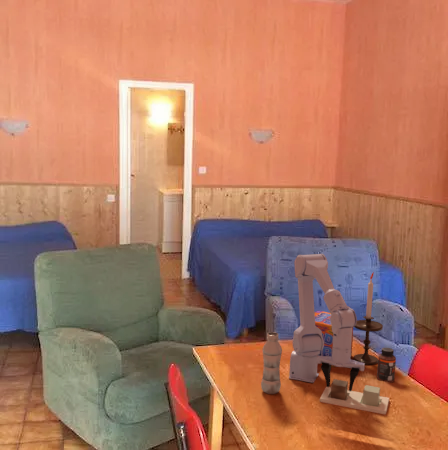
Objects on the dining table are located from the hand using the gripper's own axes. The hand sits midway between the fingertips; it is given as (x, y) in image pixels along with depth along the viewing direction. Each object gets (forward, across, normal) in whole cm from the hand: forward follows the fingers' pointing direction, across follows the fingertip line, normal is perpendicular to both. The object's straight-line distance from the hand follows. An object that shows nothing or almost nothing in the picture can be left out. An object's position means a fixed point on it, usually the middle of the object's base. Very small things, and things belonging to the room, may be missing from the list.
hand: (339, 388), depth 176 cm
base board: (+5, +5, 0) cm, 7 cm away
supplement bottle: (+5, +12, +25) cm, 28 cm away
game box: (+5, -12, +38) cm, 40 cm away
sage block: (+3, +10, 0) cm, 11 cm away
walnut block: (+3, 0, 0) cm, 3 cm away
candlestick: (+5, +3, +41) cm, 41 cm away
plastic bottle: (+5, -22, -2) cm, 23 cm away
